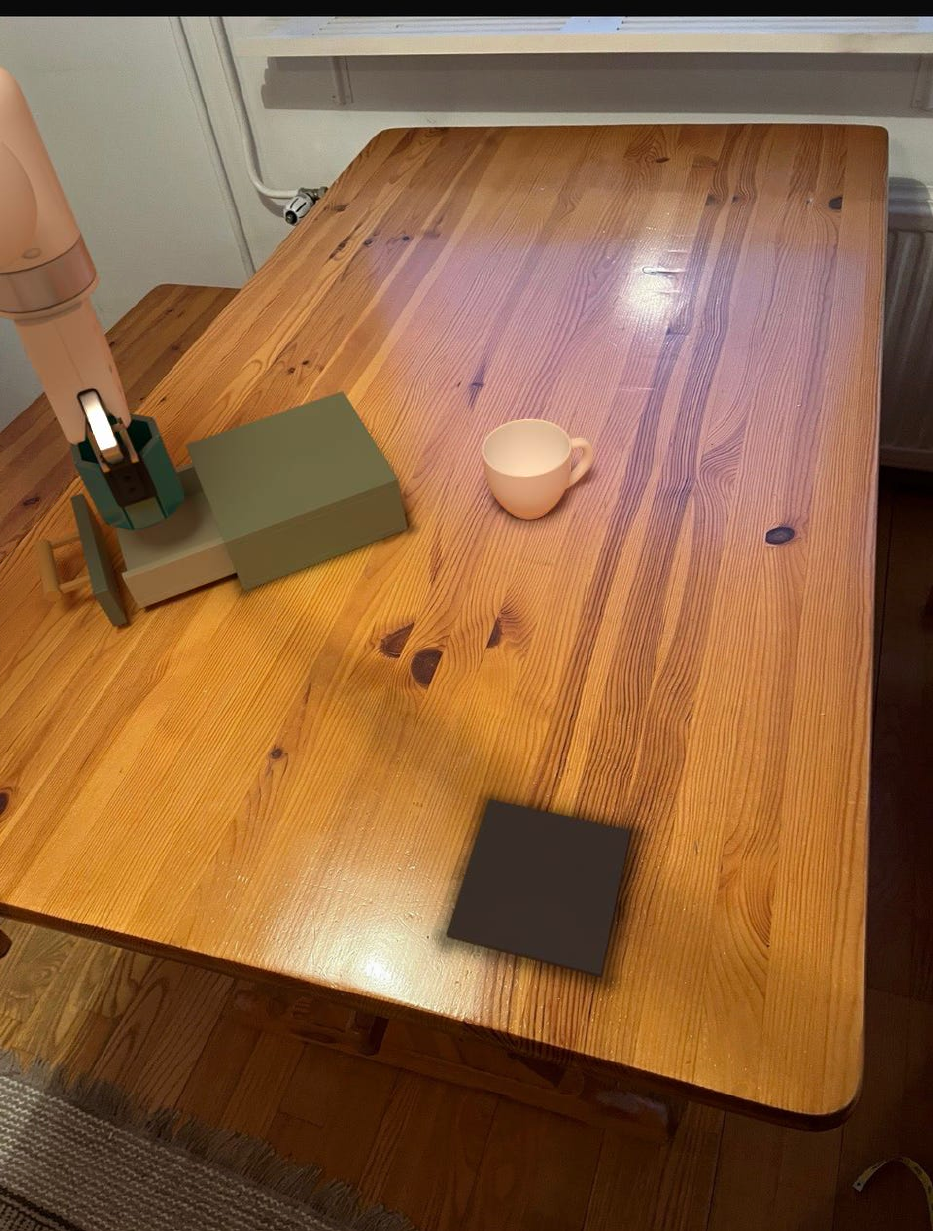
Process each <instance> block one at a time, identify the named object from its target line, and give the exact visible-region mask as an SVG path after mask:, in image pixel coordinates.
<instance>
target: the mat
mask: <svg viewBox="0 0 933 1231" xmlns="http://www.w3.org/2000/svg"><path fill="white" fill-rule="evenodd" d="M481 819H482V820H481V822H480V826H479V829H478V832H477V835H476V838H475V842H474V845H473V848H472V851H471V855H470V857H469V861H468V864H467V866H466V870H465V874H464V876H463V880H462V883H461V886H460V890H459V892H458V895H457V899H456V901H455V902H456V903H455V906H454V909H453V911H452V915H451V918H450V921H449V924H448V927H447V930H446V937H447V938H449V939H452V940H456V941H459V942H464V943H467V944H471V945H475V946H478V947H483V948H487V949H490V950H495V951H498V952H502V953H505V954H509V955H513V956H517V957H520V958H525V959H528V960H532V961H536V962H539V963H543V964H547V965H551V966H554V967H559V968H563V969H567V970H570V971H574V972H578V973H582V974H585V975H589V976H593V977H597V978H602V976H603V971H604V966H605V961H606V956H607V951H608V947H609V941H610V937H611V931H612V928H613V927H612V926H613V921H614V917H615V912H616V911H615V910H616V907H617V903H618V897H619V892H620V886H621V883H622V878H623V873H624V869H625V868H624V867H625V863H626V858H627V853H628V848H629V843H630V838H631V829H627V828H623V827H618V826H615V825H609V824H605V823H600V822H596V821H591V820H586V819H582V818H577V817H572V816H569V815H563V814H559V813H556V812H555V813H554V812H550V811H546V810H541V809H536V808H532V807H527V806H522V805H519V804H513V803H509V802H505V801H500V800H496V799H492V798H489V799H488V800H487V803H486V806H485V810H484V813H483V815H482V818H481Z"/></svg>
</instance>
